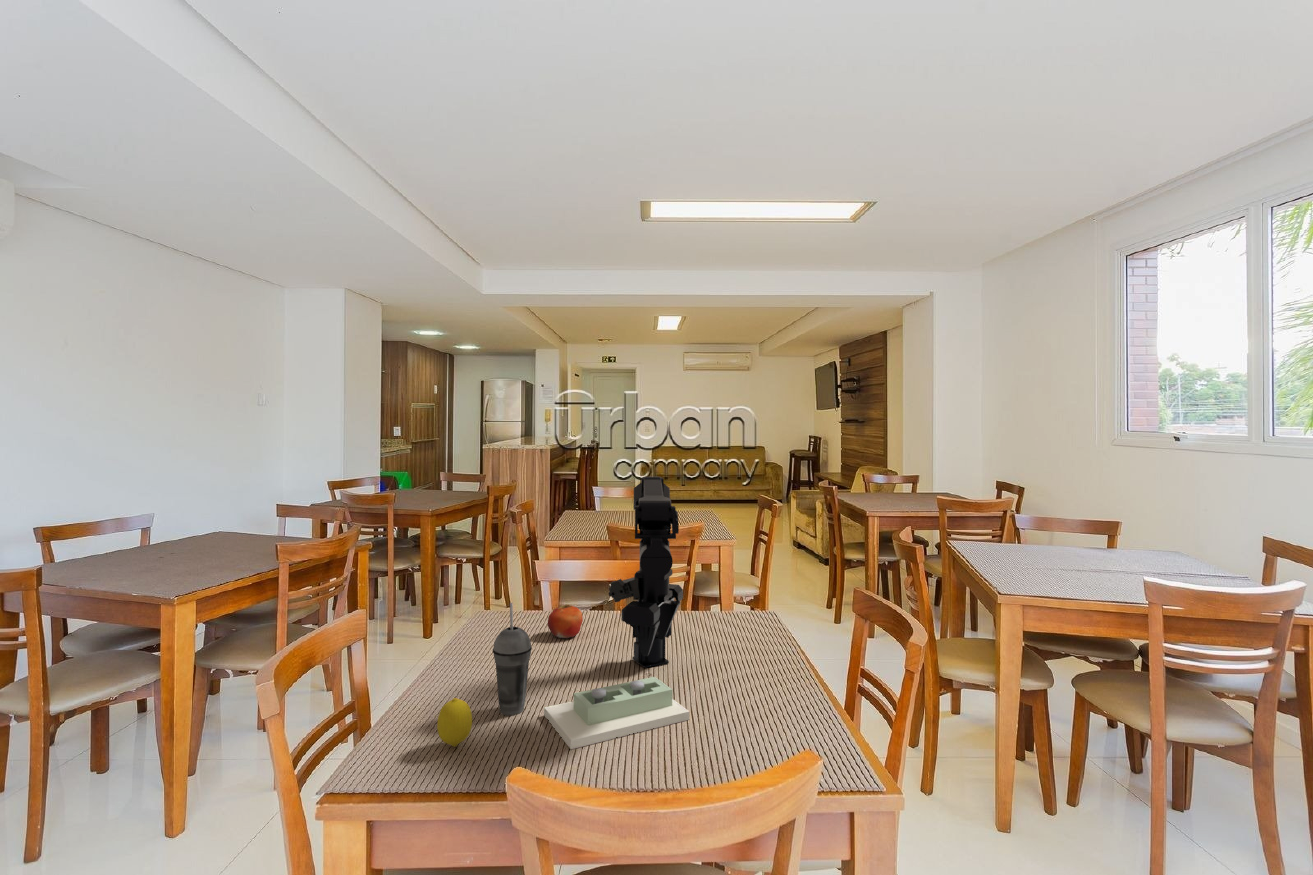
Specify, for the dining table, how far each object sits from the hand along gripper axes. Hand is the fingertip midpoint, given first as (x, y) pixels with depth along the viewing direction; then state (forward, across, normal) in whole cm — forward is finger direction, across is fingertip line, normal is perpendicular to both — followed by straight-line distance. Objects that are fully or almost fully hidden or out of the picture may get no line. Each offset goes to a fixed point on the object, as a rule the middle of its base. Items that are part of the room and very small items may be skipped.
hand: (653, 647), depth 115 cm
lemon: (+12, +25, -26) cm, 38 cm away
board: (+12, +6, -5) cm, 14 cm away
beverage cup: (+12, +10, -25) cm, 29 cm away
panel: (+10, +5, -4) cm, 12 cm away
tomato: (+12, -32, -36) cm, 50 cm away
